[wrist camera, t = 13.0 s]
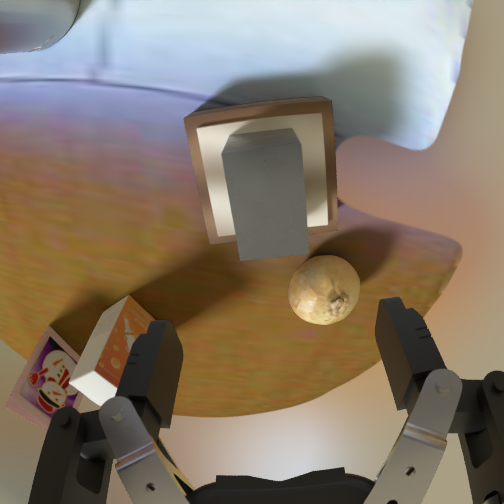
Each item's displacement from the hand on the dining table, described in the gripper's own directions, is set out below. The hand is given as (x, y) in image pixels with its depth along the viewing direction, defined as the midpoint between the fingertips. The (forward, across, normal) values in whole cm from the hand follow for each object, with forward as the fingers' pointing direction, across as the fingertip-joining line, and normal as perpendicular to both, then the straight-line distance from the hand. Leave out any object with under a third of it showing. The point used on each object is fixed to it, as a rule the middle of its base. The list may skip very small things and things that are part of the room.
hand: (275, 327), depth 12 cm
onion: (+22, -5, +14) cm, 26 cm away
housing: (+17, 0, 0) cm, 17 cm away
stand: (+22, 0, 0) cm, 22 cm away
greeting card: (+22, +38, +26) cm, 51 cm away
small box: (+22, +20, +19) cm, 35 cm away
